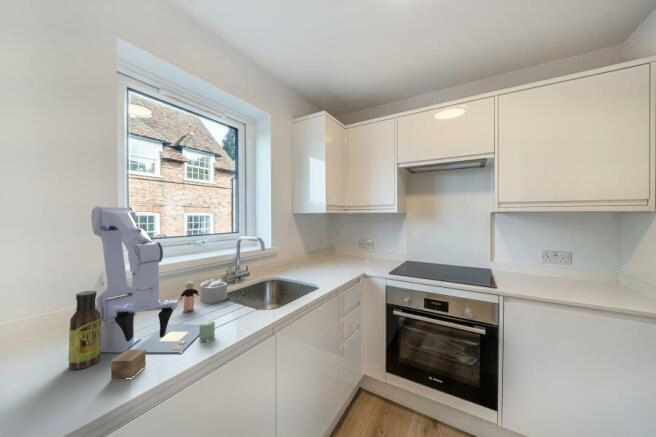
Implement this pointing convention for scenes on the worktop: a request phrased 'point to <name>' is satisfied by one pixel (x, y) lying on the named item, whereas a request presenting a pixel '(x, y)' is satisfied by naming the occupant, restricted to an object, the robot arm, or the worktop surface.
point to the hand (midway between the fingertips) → (146, 337)
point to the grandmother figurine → (189, 296)
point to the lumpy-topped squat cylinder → (213, 291)
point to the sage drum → (207, 330)
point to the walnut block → (128, 364)
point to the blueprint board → (171, 339)
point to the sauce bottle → (84, 332)
